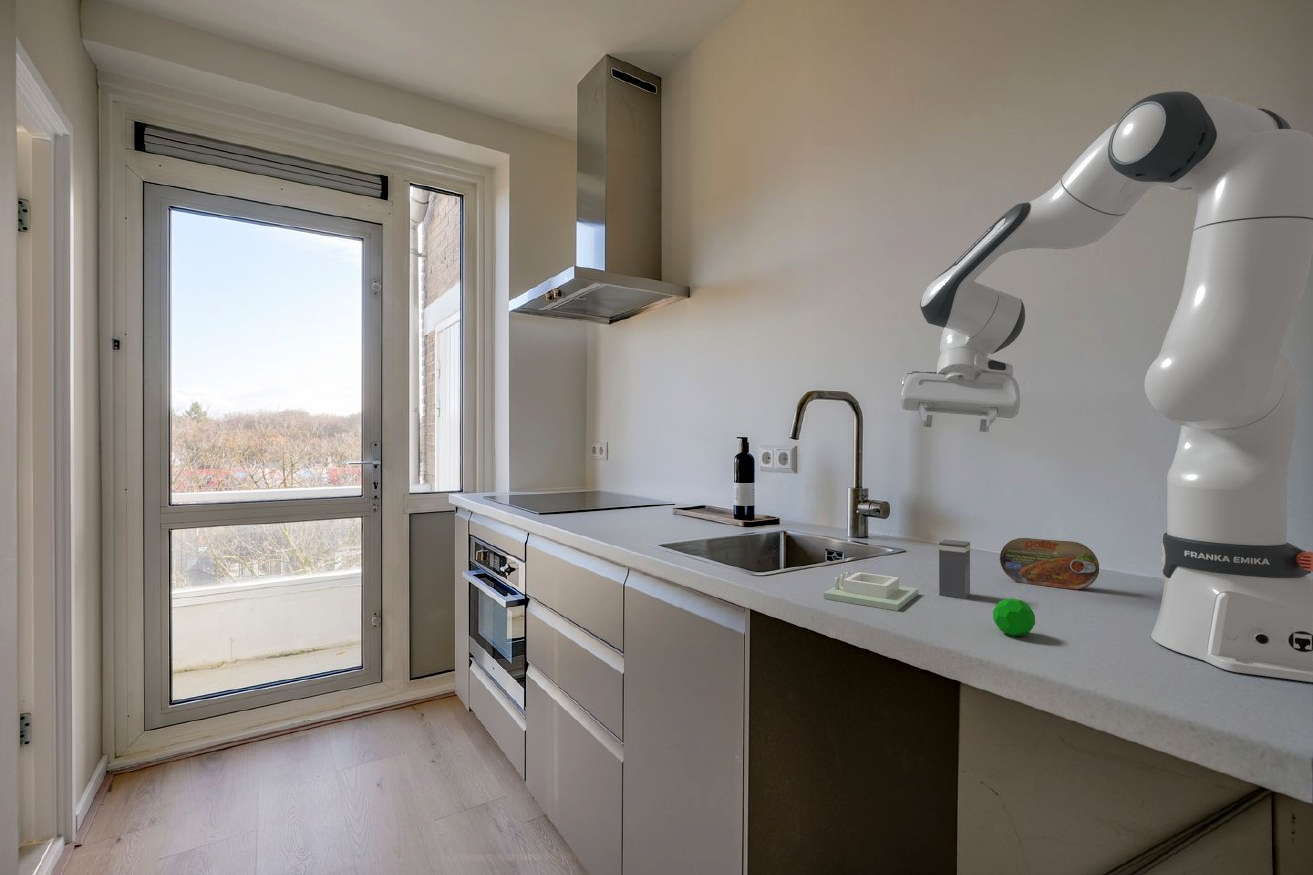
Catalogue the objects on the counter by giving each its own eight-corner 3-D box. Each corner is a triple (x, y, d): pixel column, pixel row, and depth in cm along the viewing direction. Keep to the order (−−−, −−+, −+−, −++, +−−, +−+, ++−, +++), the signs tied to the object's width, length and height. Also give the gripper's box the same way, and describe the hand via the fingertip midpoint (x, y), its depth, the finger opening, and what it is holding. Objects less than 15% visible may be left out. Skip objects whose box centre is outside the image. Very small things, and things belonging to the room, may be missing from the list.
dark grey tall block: (970, 594, 104) (970, 541, 104) (965, 599, 100) (965, 545, 100) (944, 590, 106) (944, 539, 106) (938, 595, 103) (938, 542, 103)
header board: (918, 594, 104) (918, 576, 104) (897, 611, 94) (897, 591, 94) (849, 583, 111) (849, 567, 111) (823, 598, 102) (823, 580, 102)
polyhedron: (1000, 626, 87) (1000, 593, 87) (1039, 634, 83) (1039, 599, 83) (988, 634, 83) (987, 599, 83) (1028, 643, 80) (1027, 607, 80)
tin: (999, 580, 113) (999, 535, 113) (1002, 577, 115) (1002, 533, 115) (1099, 593, 103) (1099, 544, 103) (1100, 589, 106) (1100, 541, 106)
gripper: (904, 360, 121) (895, 411, 113) (1022, 365, 112) (1021, 421, 104) (903, 382, 125) (894, 432, 118) (1017, 388, 116) (1015, 444, 109)
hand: (955, 427), depth 111 cm, fingers open, 8 cm apart
